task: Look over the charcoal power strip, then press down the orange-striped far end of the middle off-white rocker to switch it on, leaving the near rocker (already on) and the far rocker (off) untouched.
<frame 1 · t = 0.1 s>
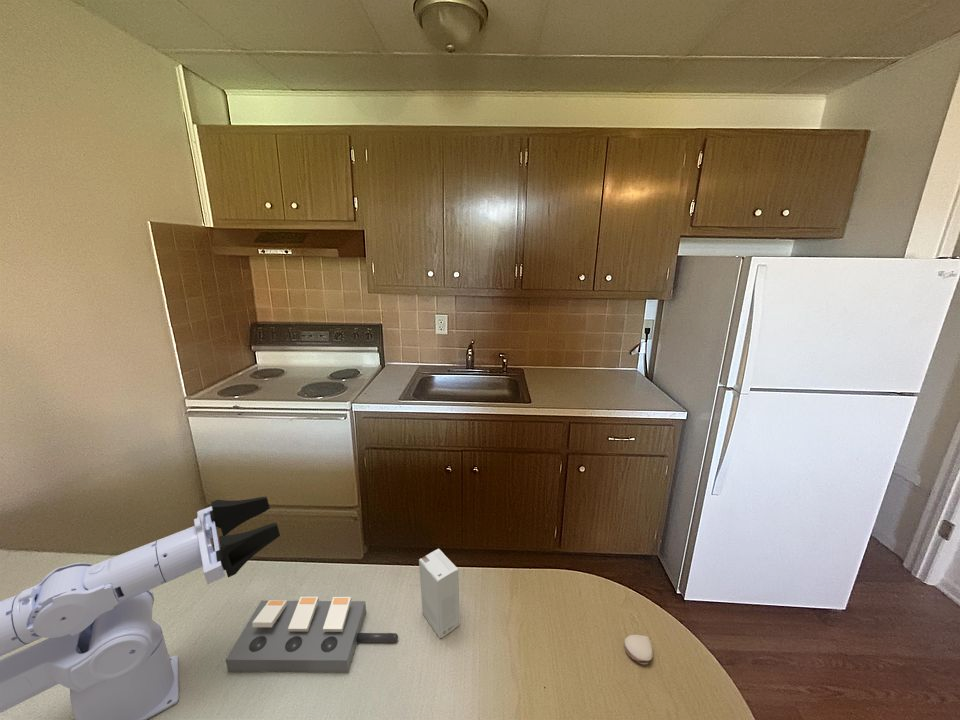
hand: (273, 515, 60), 22 cm above the table, tool horizontal, fingers open, 7 cm apart
white rounded oval piece: (638, 653, 62), on the table
power strip: (302, 639, 63), on the table
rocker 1: (270, 613, 63), point 4 cm above the table, hinge at -12.0°
rocker 2: (304, 613, 63), point 4 cm above the table, hinge at 12.0°
skincare box: (439, 620, 67), on the table
rocker 3: (337, 613, 63), point 4 cm above the table, hinge at 12.0°
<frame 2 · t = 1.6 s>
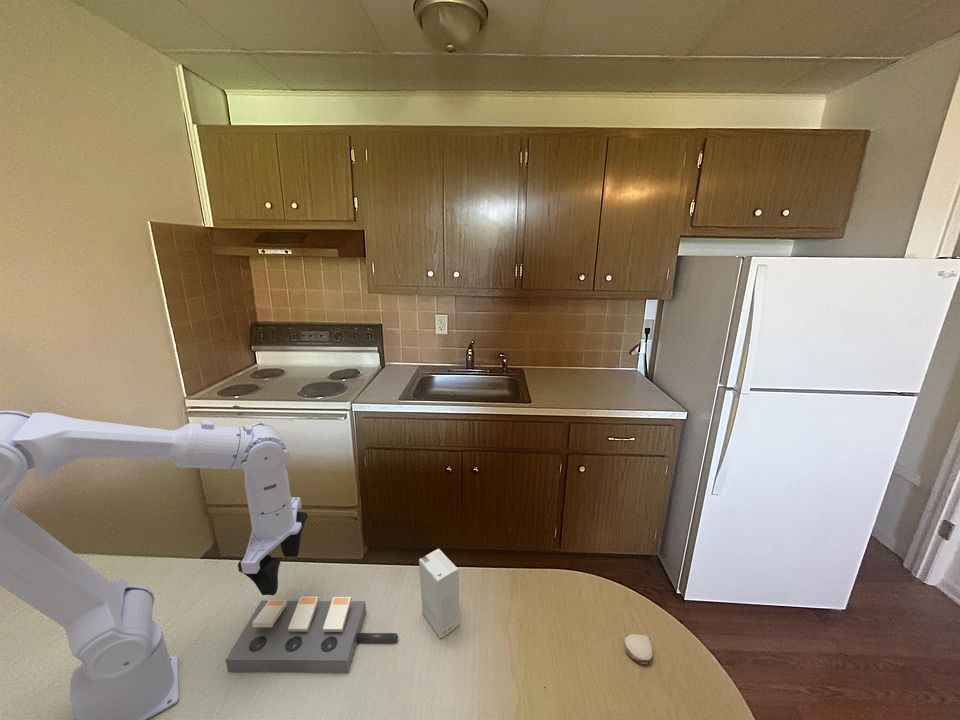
hand: (281, 573, 63), 10 cm above the table, tool pointing down, fingers open, 7 cm apart
nothing on the table moved.
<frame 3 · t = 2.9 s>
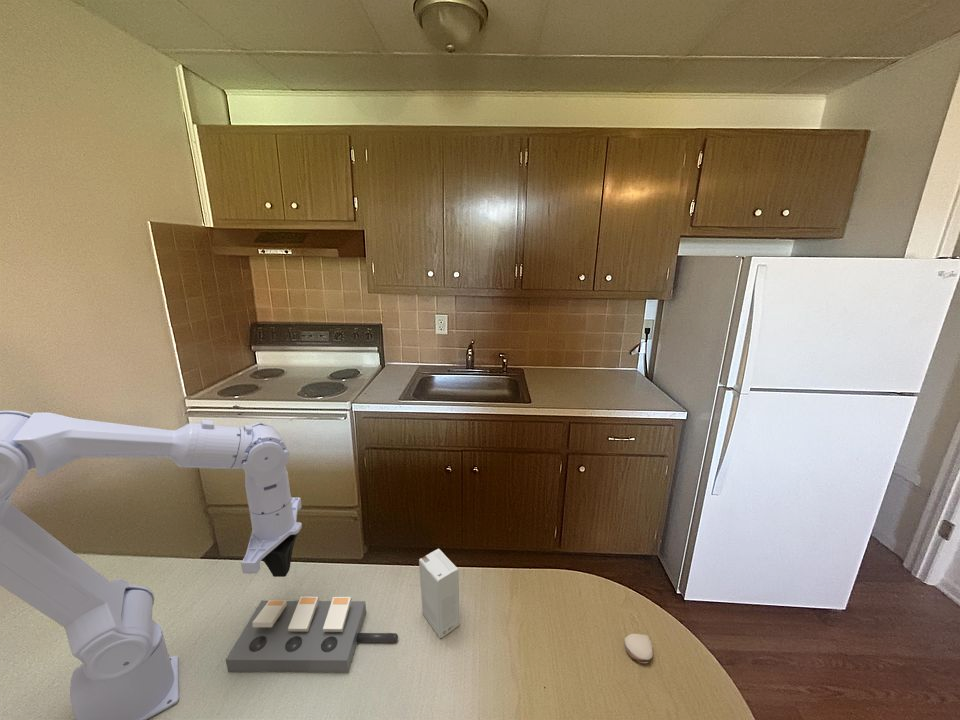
hand: (281, 573, 63), 10 cm above the table, tool pointing down, fingers closed
nothing on the table moved.
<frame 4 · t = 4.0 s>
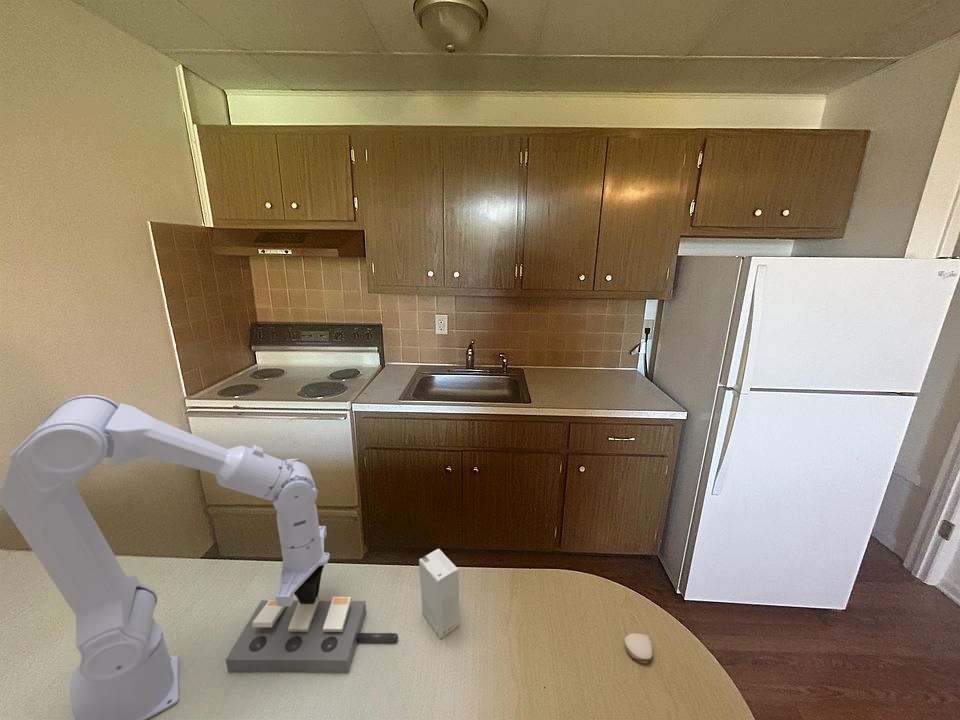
hand: (309, 600, 65), 4 cm above the table, tool pointing down, fingers closed, pressing on rocker 2
rocker 2: (304, 613, 63), point 4 cm above the table, hinge at 11.8°, touching gripper
everything else where it was.
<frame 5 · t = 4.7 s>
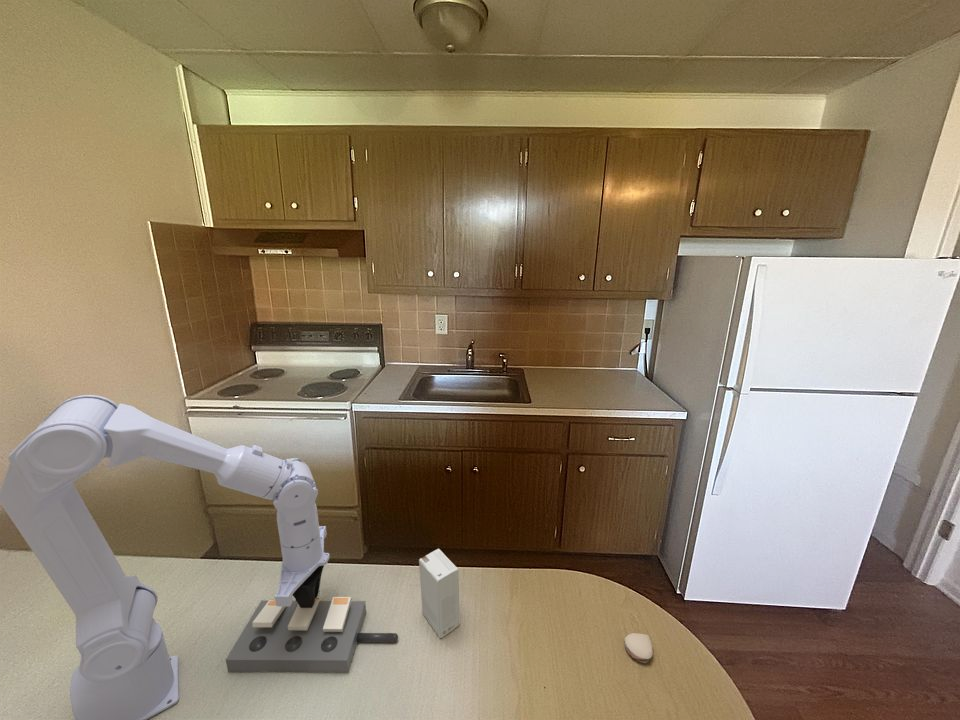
hand: (309, 601, 65), 4 cm above the table, tool pointing down, fingers closed on rocker 2
rocker 2: (304, 613, 63), point 4 cm above the table, hinge at 2.4°, touching gripper
everything else where it was.
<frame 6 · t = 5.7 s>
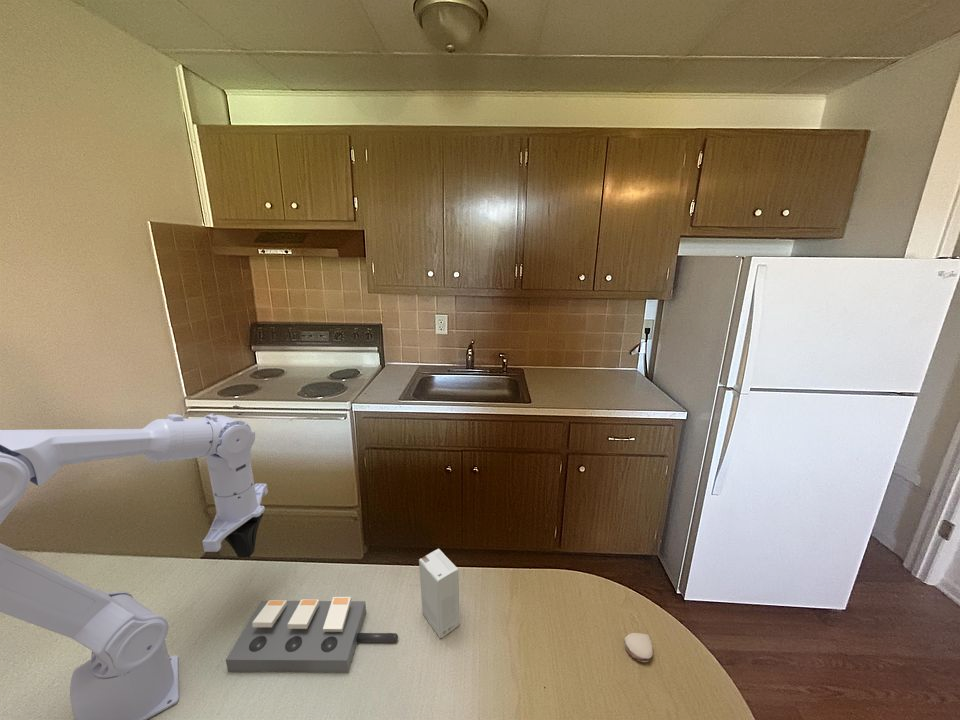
hand: (246, 554, 66), 10 cm above the table, tool pointing down, fingers closed
rocker 2: (304, 613, 63), point 4 cm above the table, hinge at -6.7°
everything else where it was.
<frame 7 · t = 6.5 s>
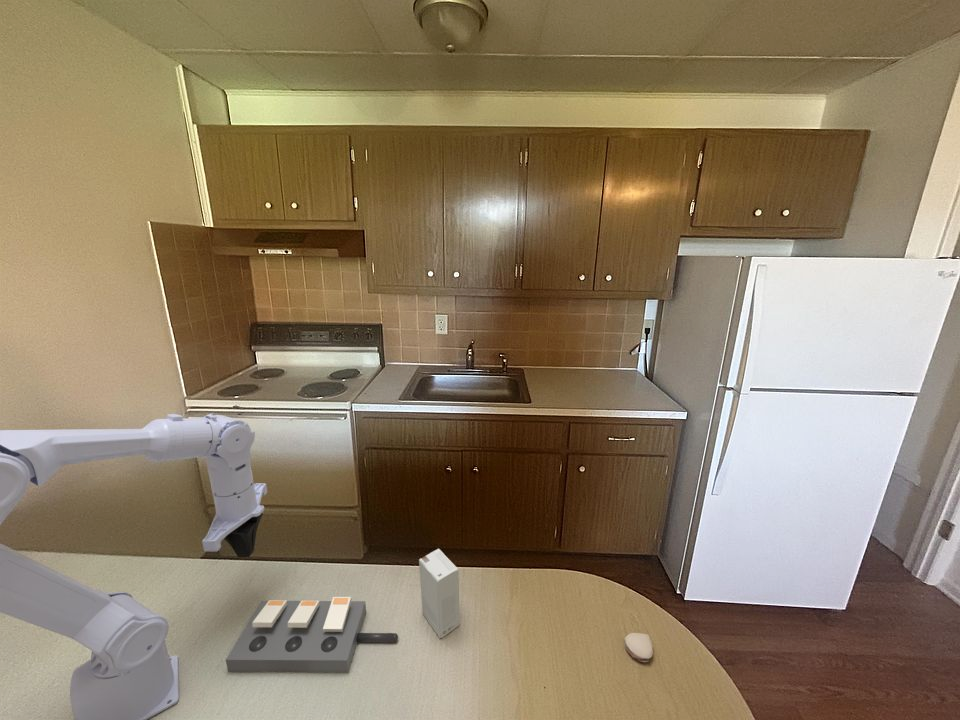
hand: (245, 554, 67), 10 cm above the table, tool pointing down, fingers closed
rocker 2: (304, 613, 63), point 4 cm above the table, hinge at -12.3°
everything else where it was.
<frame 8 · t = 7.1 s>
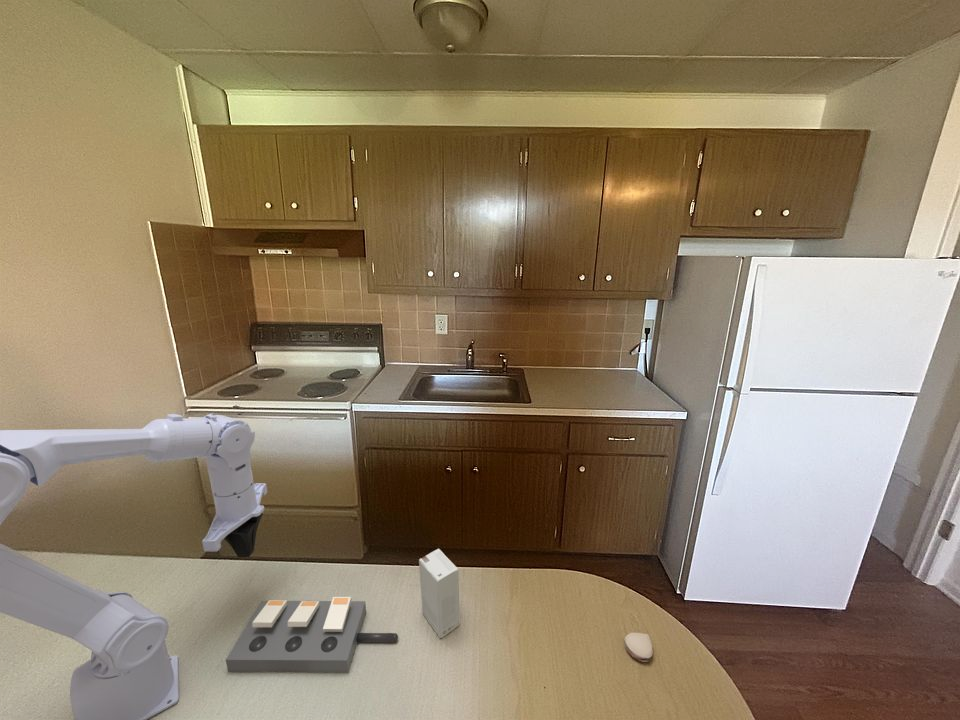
hand: (245, 554, 67), 10 cm above the table, tool pointing down, fingers closed
rocker 2: (304, 613, 63), point 4 cm above the table, hinge at -15.7°
everything else where it was.
at the end: rocker 2 at -16° (first picture: +12°); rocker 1 at -12° (first picture: -12°); rocker 3 at +12° (first picture: +12°) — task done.
